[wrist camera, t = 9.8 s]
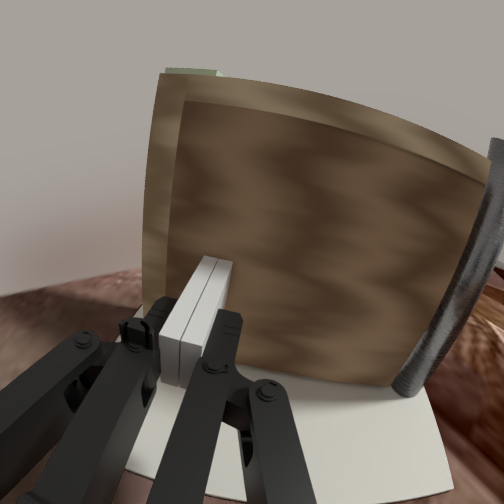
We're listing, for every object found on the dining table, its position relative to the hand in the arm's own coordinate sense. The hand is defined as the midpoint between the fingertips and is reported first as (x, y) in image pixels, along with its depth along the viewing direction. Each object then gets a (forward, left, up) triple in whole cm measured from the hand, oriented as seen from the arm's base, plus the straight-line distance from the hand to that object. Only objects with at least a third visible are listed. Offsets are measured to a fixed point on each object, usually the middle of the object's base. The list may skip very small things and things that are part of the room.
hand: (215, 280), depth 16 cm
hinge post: (-13, +8, -7) cm, 17 cm away
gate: (-4, +2, -6) cm, 8 cm away
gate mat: (-3, +5, -7) cm, 9 cm away
